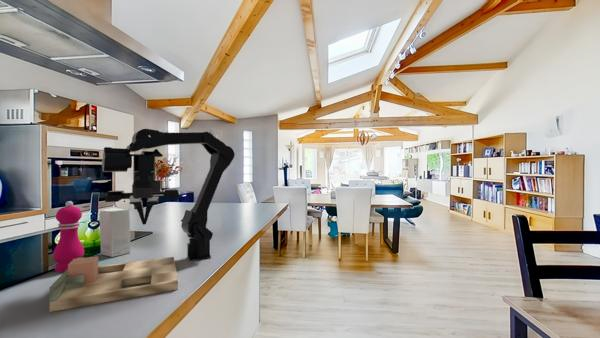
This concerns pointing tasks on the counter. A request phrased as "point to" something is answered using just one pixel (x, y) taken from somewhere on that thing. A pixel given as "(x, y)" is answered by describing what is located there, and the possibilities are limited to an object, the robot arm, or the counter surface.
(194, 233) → the robot arm
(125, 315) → the counter surface
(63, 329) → the counter surface
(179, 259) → the counter surface
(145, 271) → the board
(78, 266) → the block
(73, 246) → the pepper mill
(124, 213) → the skincare box
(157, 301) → the counter surface
